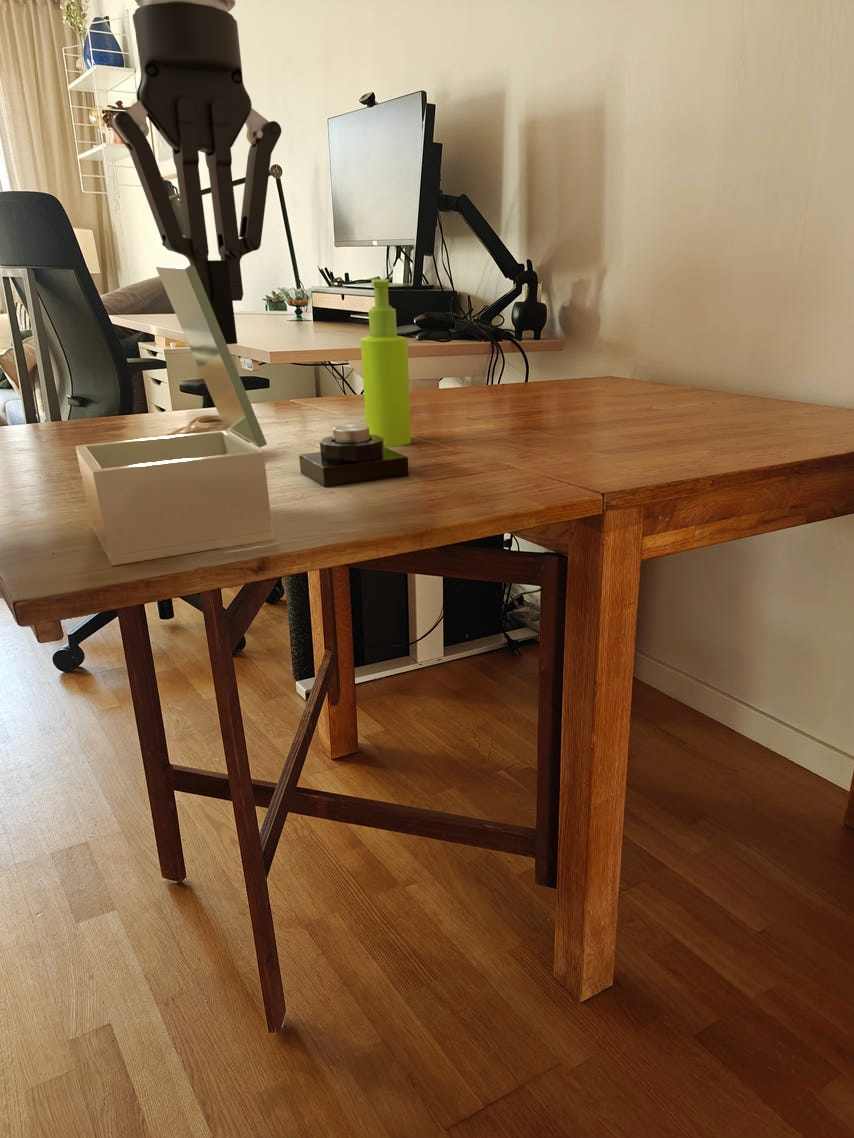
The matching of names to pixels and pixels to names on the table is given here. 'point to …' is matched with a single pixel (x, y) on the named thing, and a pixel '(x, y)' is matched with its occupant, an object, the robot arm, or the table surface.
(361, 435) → the silver push button
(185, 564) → the table surface
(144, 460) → the wooden box
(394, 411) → the lime green bottle
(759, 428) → the table surface
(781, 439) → the table surface
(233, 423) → the box lid
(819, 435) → the table surface
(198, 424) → the pottery oil lamp
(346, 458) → the plate
